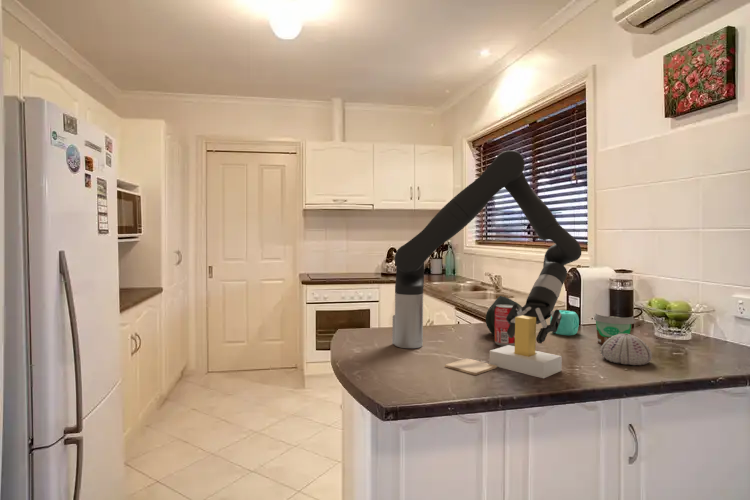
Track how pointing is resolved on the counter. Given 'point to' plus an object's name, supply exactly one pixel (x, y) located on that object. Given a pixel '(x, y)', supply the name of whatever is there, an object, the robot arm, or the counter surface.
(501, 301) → the squash
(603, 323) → the food container
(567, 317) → the teal rounded cube
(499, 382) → the counter surface
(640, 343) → the sea urchin shell
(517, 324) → the yellow block
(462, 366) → the mat
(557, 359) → the white rectangular block
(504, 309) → the soda can
